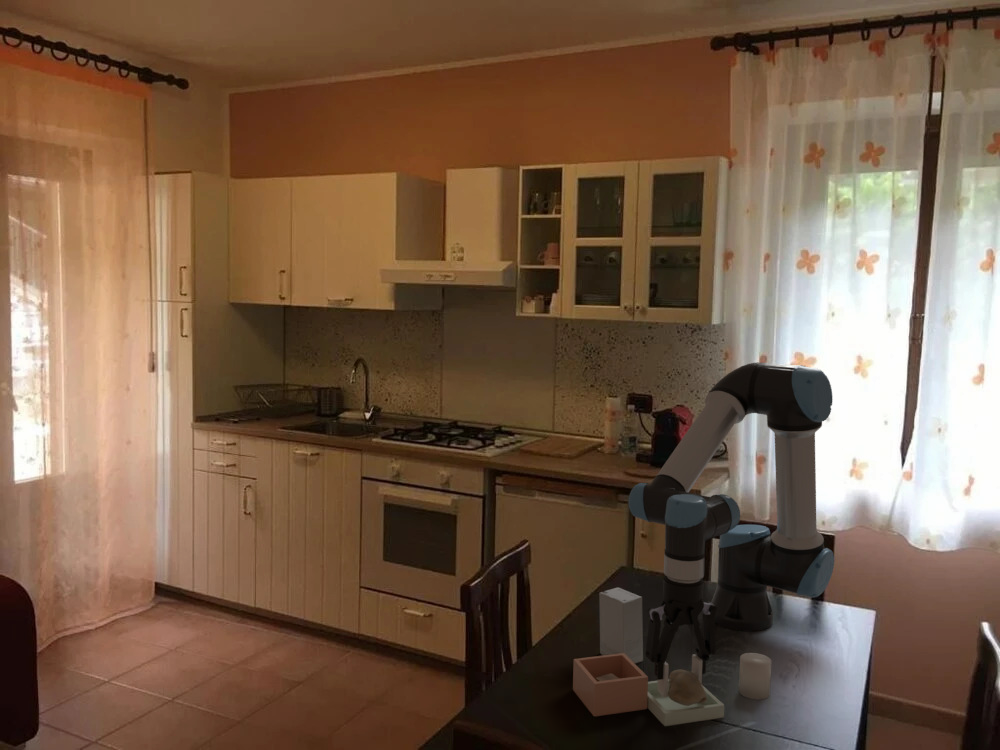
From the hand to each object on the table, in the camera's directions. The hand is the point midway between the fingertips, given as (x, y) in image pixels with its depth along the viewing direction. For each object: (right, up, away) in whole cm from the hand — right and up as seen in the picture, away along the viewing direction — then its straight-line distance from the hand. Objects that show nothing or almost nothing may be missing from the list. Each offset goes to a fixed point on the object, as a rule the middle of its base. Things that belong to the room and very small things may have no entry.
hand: (679, 691), depth 166 cm
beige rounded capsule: (+17, -3, +7) cm, 18 cm away
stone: (+1, -1, -2) cm, 2 cm away
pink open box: (-13, -3, +3) cm, 14 cm away
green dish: (0, -4, 0) cm, 3 cm away
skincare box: (-8, -1, +22) cm, 23 cm away
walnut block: (-13, -3, +3) cm, 14 cm away
